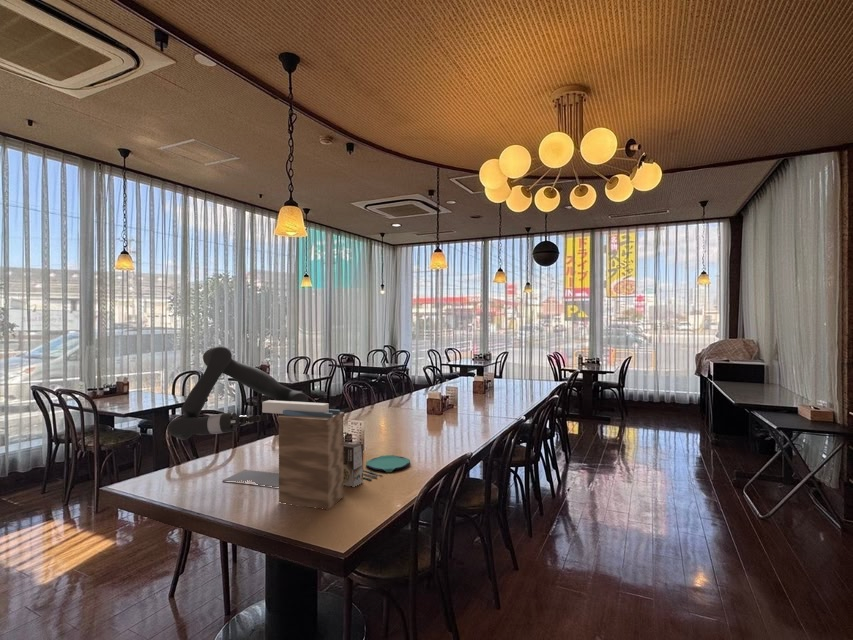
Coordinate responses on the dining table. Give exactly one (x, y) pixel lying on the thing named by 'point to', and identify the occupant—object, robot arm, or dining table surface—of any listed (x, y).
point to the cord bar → (293, 406)
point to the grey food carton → (352, 464)
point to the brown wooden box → (311, 458)
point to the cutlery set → (386, 464)
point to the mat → (256, 477)
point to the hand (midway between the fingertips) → (263, 417)
